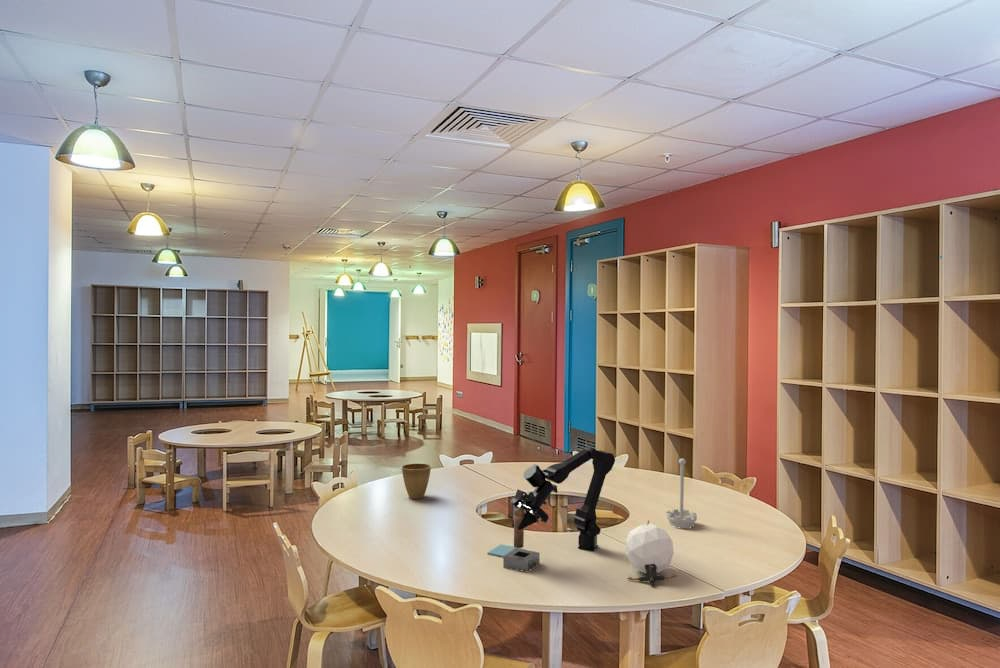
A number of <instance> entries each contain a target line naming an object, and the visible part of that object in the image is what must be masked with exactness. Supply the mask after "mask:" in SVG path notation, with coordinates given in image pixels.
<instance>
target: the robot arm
mask: <svg viewBox="0 0 1000 668" xmlns="http://www.w3.org/2000/svg"><path fill="white" fill-rule="evenodd" d="M590 460H593V461H592V467H593V474H592V475H591V476H592V478H591V479H590V483H589V487H588V490H587V493H586V496H585V500H584V501H583V502H584V503H583V505H582V506H581V507H580V508H578V507H577V508H576V509H575V513H574V516H573V523H574V526H576V529H577V531H579V535H578V546H577V547H578V548H577V549H579V550H584V551H585V550H586V551H590V552H594V551H595V550H596V549H597V548H598V547H599V544H598V535H600V534H601V531H602V529H601V528H600V526H598V525H597V523H596V522H597V517H598V516H597V512H596V508H597V506H598V502H599V498H600V495H601V492H602V490H603V486H604V482H605V479H606V476H607V475H608V474H609V473H610V471H612V470H613V467H614V465H615V462H616V458H615V455H614V454H613V453H612V452H608V451H605V450H604V451H603V450H597V449H595V448H593V447H589V446H585V447H583V449H582V450H580V451H579V452H577V453H575V454H574V455H572V456H570V457H569V458H567V459H565V460H564V461H562V462H560V463H554V464H552V465H549V466H548V467H547V468H545V469H541V468H540V466H539V465H537V464H535V463H534V464H533V465H532V466H529V467H528V468H526V469H525V470H524V471H523V475H522V477H523V478H524V479H525V480H526V481H527V482H528V484H529V485H530V486H531V487H532V488H534V490H527V491H524V490H521V489H517V490H516V493H515V496H514V497H512V499H511V500H510V503H511V504H512V506H514V507H515V509H516V508H522V509H523V510H524V519H523V520H522V522H521V523H520V525H519V527H518V530H521V529H523V528H524V529H525V528H527V527H529V526H532V525H533V524H535V523H539V519H540V521H541V522H542V523H544V524H546V523H547V522H548V521H549V517H550V516H549V514H547V513H546V511H544V510H543V509H542V506H543V505H545V506H546V505H547V501H546V500H547V499H549V498H548V497H549V496H550V495H551V494H552V493H556V494H557V493H558V485H556V484H562V483H564V481H566V479H568V478H569V475H570V473H571V472H573V471H575V470H576V469H578V468H579V467H581V466H582V465H584V464H585V463H588V461H590ZM552 482H553V483H555V484H553V483H552ZM511 524H512V525H511V526H512V527H513V528H514V520H513V521H512V523H511Z"/></svg>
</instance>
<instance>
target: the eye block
mask: <svg viewBox="0 0 1000 668" xmlns="http://www.w3.org/2000/svg"><path fill="white" fill-rule="evenodd" d="M524 549H525V548H523V549H519V548H515V549H513V550H512V551H510V552H509V553H508V554H506V555H505V556H503V557H502V558H503V564H502V565H503V568H506V567H507V569H510V568H512V570H515V569H518V570H517V571H520V570H523V571H522V572H524V571H529V570H530V569H531V570H532V568H533V567H534V566H535V567H536V565H537V564H538V565H539V564H540V555H541V554H540V552H539V551H533V550H527V549H525V550H524ZM538 565H537V566H538ZM535 567H534V568H535ZM534 568H533V569H534ZM531 570H530V571H531ZM530 571H529V572H530Z"/></svg>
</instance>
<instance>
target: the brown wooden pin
mask: <svg viewBox="0 0 1000 668" xmlns="http://www.w3.org/2000/svg"><path fill="white" fill-rule="evenodd" d="M523 519H524V510H523V509H522V508H515V509H514V511H513V521H514V527H513V547H515V548H524V547H525V546H524V542H525V541H524V537H525V536H524V532H525V528H523V529H521V530H518V527H519V525H520V523H521V522H522V520H523Z"/></svg>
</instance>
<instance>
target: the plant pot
mask: <svg viewBox="0 0 1000 668" xmlns="http://www.w3.org/2000/svg"><path fill="white" fill-rule="evenodd" d="M431 469H432V466H431V464H427V463H409V464H408V463H407V464H404V465H402V466H401V473H402V477H403V482H404V487H405V490H406V493H407V495H408V498H409V499H413V500H420V499H423V498H425V494H426V491H427V488H428V484H429V481H430V476H431V475H430V474H431Z"/></svg>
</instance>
